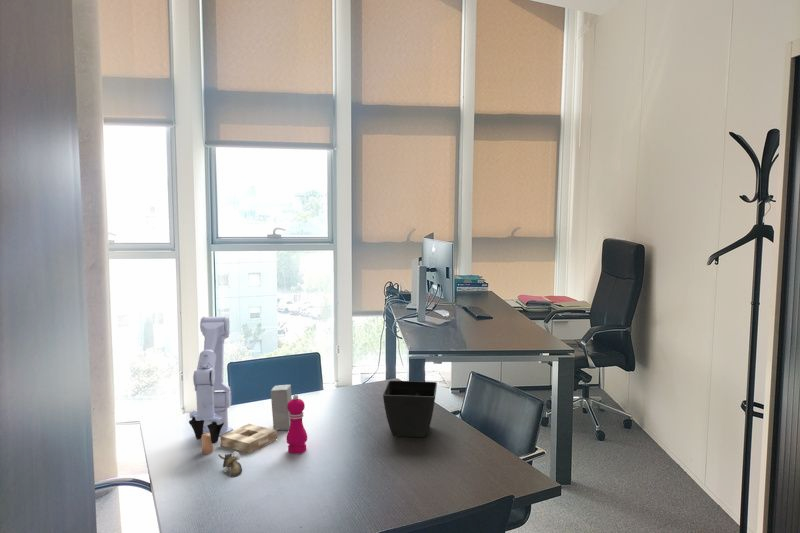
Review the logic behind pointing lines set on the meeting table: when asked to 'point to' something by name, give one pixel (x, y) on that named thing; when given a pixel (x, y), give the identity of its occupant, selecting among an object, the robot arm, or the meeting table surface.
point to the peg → (206, 443)
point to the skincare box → (281, 406)
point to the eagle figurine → (232, 464)
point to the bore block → (248, 438)
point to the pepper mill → (296, 426)
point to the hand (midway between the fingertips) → (207, 440)
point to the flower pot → (409, 407)
